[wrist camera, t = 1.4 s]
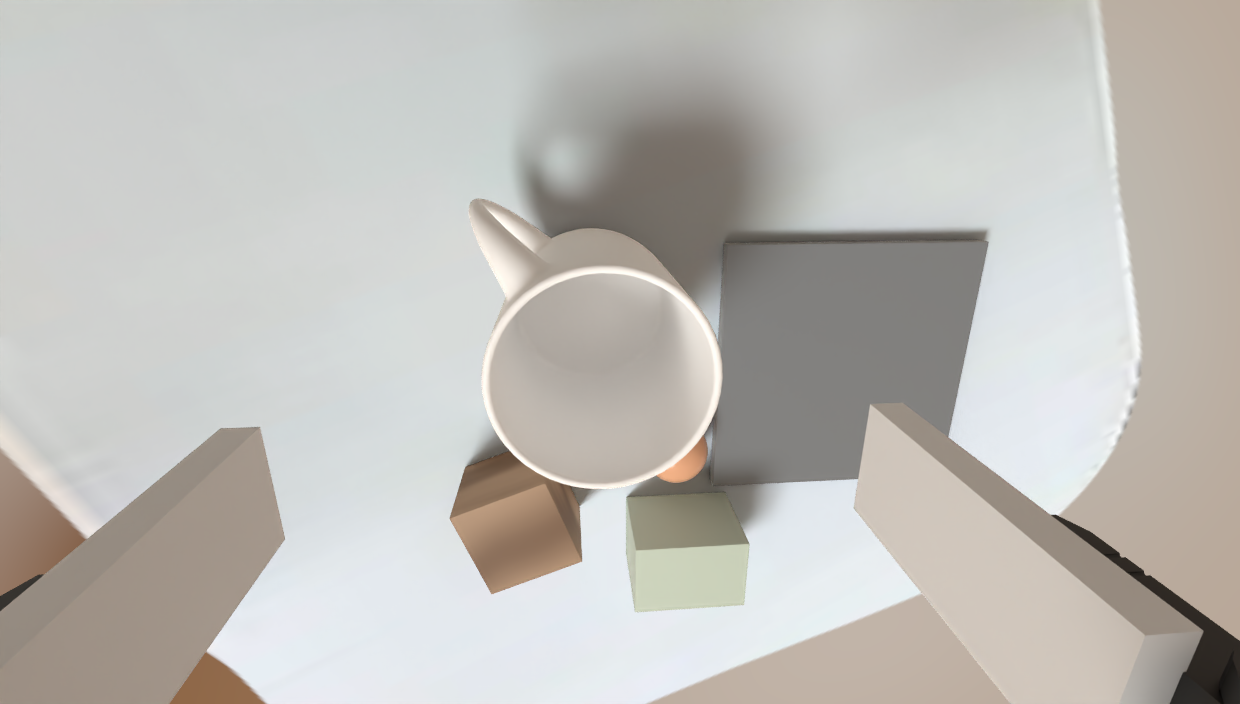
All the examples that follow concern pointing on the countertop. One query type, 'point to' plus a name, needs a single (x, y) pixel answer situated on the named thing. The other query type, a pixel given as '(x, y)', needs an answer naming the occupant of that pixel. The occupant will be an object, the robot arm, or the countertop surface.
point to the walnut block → (515, 522)
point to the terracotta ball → (687, 464)
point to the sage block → (685, 552)
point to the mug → (592, 354)
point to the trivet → (835, 349)
